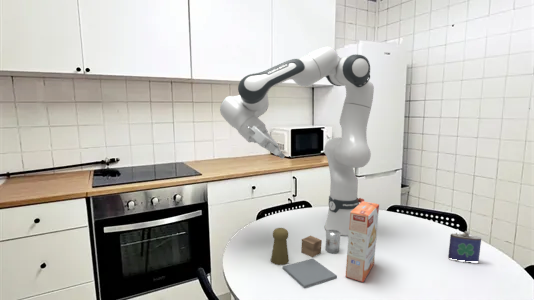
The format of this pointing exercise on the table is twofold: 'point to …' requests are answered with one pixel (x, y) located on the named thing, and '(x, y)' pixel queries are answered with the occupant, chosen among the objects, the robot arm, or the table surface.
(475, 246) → the flask
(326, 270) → the coaster
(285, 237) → the olive pawn piece
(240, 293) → the table surface
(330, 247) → the grey tin
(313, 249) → the walnut block
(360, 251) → the cracker box
